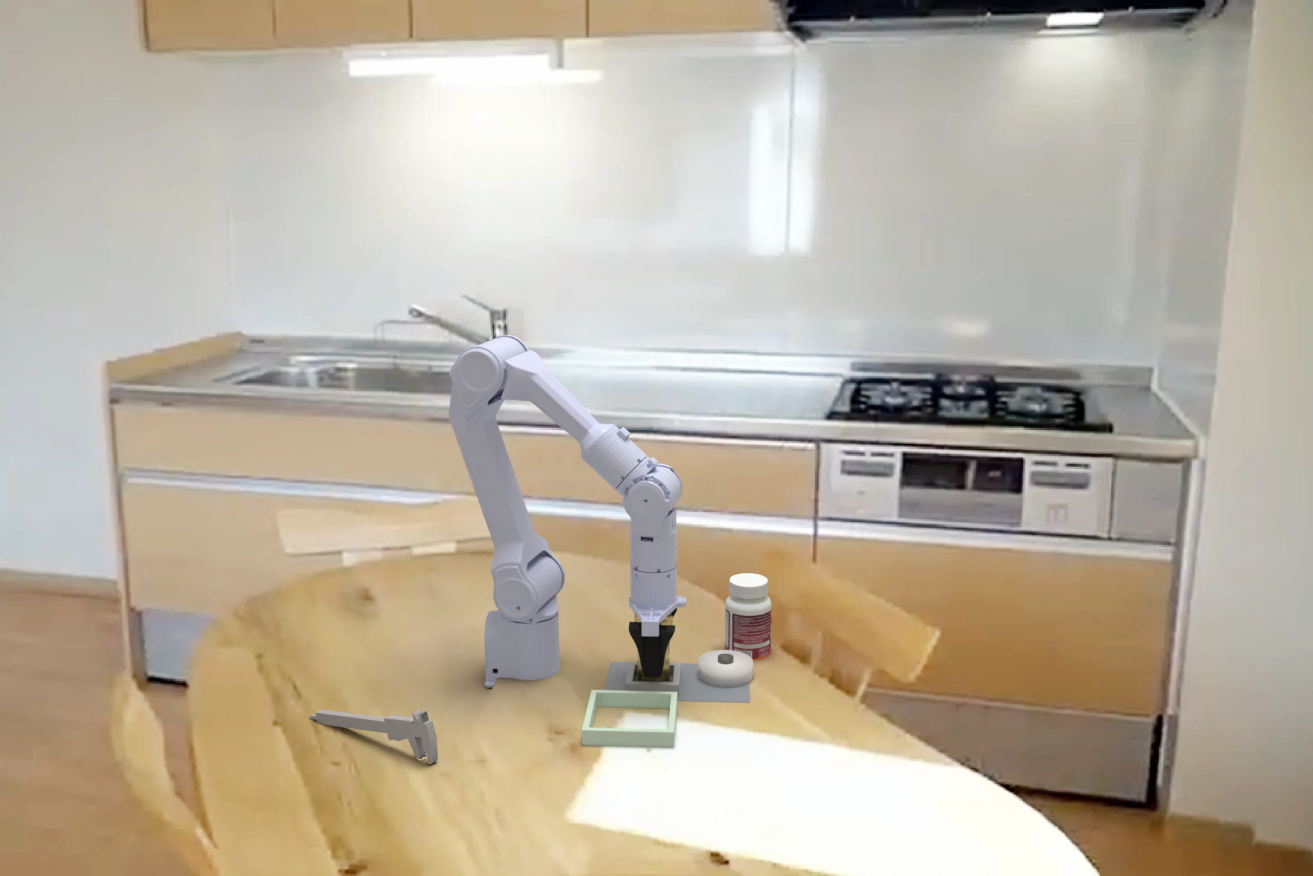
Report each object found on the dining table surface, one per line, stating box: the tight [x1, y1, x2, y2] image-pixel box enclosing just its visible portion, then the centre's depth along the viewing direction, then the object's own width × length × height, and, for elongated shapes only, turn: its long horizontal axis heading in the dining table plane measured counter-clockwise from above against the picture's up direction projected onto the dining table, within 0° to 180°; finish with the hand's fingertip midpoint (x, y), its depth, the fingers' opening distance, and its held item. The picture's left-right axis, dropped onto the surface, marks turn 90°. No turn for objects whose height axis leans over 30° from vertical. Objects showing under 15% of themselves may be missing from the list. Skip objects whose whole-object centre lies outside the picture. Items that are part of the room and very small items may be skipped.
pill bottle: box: [724, 572, 773, 661], centre depth 163 cm, size 6×6×11 cm
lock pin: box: [633, 614, 674, 682], centre depth 153 cm, size 5×5×9 cm
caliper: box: [308, 709, 439, 765], centre depth 142 cm, size 20×1×6 cm, turn 56°
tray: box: [581, 689, 678, 749], centre depth 144 cm, size 10×10×3 cm
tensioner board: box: [604, 649, 754, 704], centre depth 155 cm, size 18×11×4 cm, turn 87°
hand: (653, 668), depth 154 cm, fingers closed on lock pin, 4 cm apart
